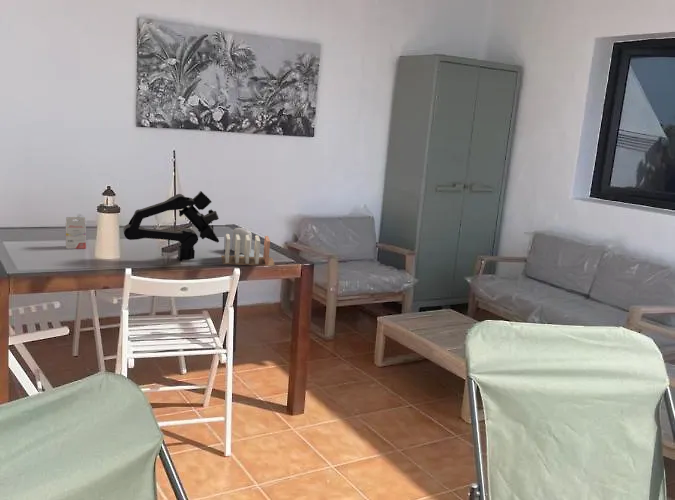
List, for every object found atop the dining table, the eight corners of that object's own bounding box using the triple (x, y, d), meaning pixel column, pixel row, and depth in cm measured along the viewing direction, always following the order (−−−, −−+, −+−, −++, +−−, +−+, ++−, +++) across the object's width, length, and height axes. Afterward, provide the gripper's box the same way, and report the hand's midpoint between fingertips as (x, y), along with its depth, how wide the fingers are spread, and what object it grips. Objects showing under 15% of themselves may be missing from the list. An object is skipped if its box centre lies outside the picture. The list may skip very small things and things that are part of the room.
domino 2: (235, 263, 313) (237, 239, 310) (234, 257, 323) (235, 234, 320) (238, 263, 313) (240, 239, 311) (237, 257, 323) (239, 234, 320)
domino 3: (245, 263, 314) (247, 240, 311) (244, 257, 323) (245, 234, 321) (248, 263, 314) (250, 240, 312) (247, 257, 324) (248, 235, 321)
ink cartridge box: (85, 246, 319) (85, 215, 315) (85, 248, 314) (86, 217, 311) (65, 246, 316) (65, 214, 312) (65, 248, 311) (65, 217, 307)
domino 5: (265, 264, 316) (266, 241, 313) (263, 258, 325) (264, 235, 323) (268, 264, 316) (270, 241, 313) (266, 258, 326) (268, 236, 323)
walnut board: (222, 265, 310) (222, 263, 310) (221, 257, 323) (221, 255, 323) (275, 267, 315) (275, 265, 315) (272, 259, 328) (272, 257, 328)
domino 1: (225, 262, 312) (226, 239, 309) (224, 256, 322) (226, 233, 319) (228, 262, 312) (230, 239, 310) (227, 256, 322) (229, 234, 319)
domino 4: (255, 263, 315) (256, 240, 312) (253, 257, 324) (255, 235, 322) (258, 264, 315) (260, 240, 313) (256, 258, 325) (258, 235, 322)
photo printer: (252, 254, 333) (253, 230, 330) (246, 256, 329) (247, 231, 326) (236, 250, 338) (237, 225, 335) (230, 251, 335) (231, 226, 332)
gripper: (209, 209, 300) (233, 235, 305) (208, 201, 318) (230, 225, 323) (189, 226, 300) (214, 251, 305) (189, 216, 318) (212, 241, 323)
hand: (218, 241), depth 314 cm, fingers closed
